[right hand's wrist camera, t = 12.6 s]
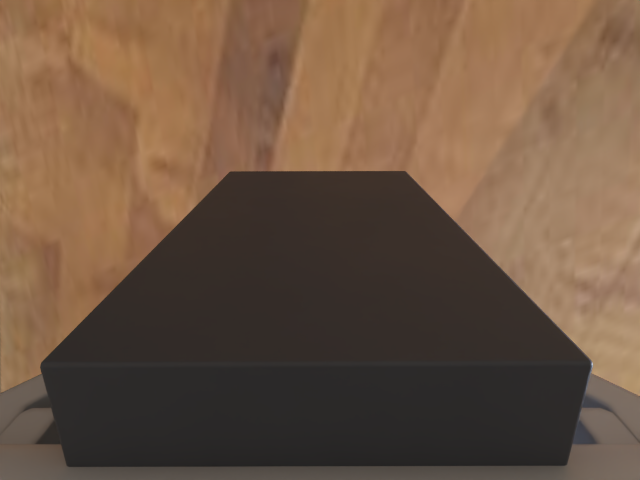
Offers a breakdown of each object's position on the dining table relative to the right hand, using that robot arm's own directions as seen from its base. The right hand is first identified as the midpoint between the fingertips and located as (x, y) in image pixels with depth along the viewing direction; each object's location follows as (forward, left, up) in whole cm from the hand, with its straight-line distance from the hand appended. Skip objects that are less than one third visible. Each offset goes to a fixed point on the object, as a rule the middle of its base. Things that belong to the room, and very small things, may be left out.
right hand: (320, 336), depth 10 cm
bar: (-7, +8, -4) cm, 11 cm away
